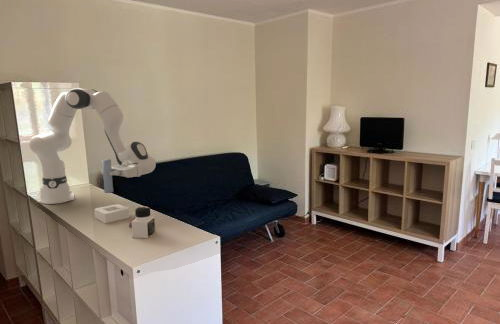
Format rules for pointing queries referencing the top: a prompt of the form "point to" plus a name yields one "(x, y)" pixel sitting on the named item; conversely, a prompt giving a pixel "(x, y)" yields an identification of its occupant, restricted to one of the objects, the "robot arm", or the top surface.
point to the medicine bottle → (143, 223)
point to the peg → (107, 176)
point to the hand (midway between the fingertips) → (105, 173)
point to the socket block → (111, 213)
